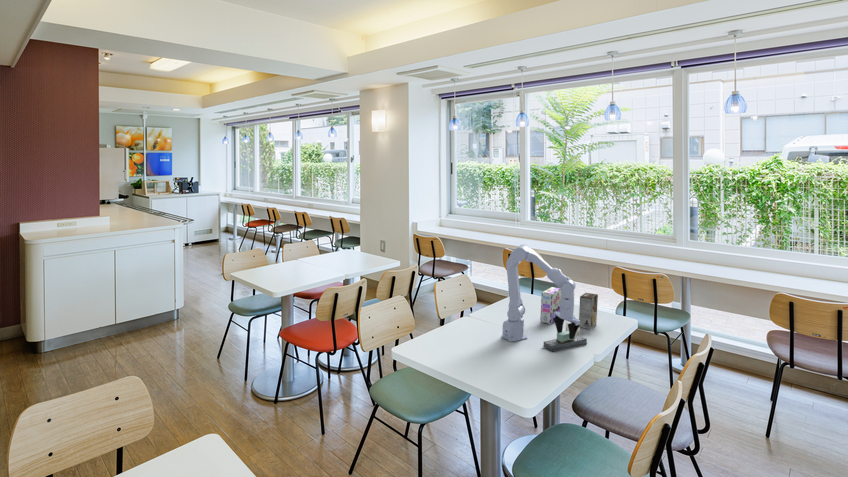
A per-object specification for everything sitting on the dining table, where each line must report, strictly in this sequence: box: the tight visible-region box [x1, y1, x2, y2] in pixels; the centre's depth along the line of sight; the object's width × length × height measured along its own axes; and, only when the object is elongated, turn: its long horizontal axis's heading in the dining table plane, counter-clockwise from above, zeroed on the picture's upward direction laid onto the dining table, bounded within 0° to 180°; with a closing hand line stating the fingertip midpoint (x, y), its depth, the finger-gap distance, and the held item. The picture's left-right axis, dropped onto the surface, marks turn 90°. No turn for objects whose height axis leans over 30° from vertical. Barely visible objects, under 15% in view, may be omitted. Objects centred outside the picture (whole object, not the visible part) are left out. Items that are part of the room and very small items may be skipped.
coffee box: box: [578, 292, 599, 330], centre depth 234 cm, size 9×6×16 cm
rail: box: [543, 334, 588, 353], centre depth 209 cm, size 20×6×2 cm, turn 116°
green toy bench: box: [556, 330, 575, 343], centre depth 209 cm, size 8×3×6 cm, turn 116°
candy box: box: [539, 286, 562, 325], centre depth 243 cm, size 14×6×16 cm, turn 143°
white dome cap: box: [565, 322, 581, 336], centre depth 223 cm, size 6×6×5 cm
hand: (565, 335), depth 209 cm, fingers open, 7 cm apart
